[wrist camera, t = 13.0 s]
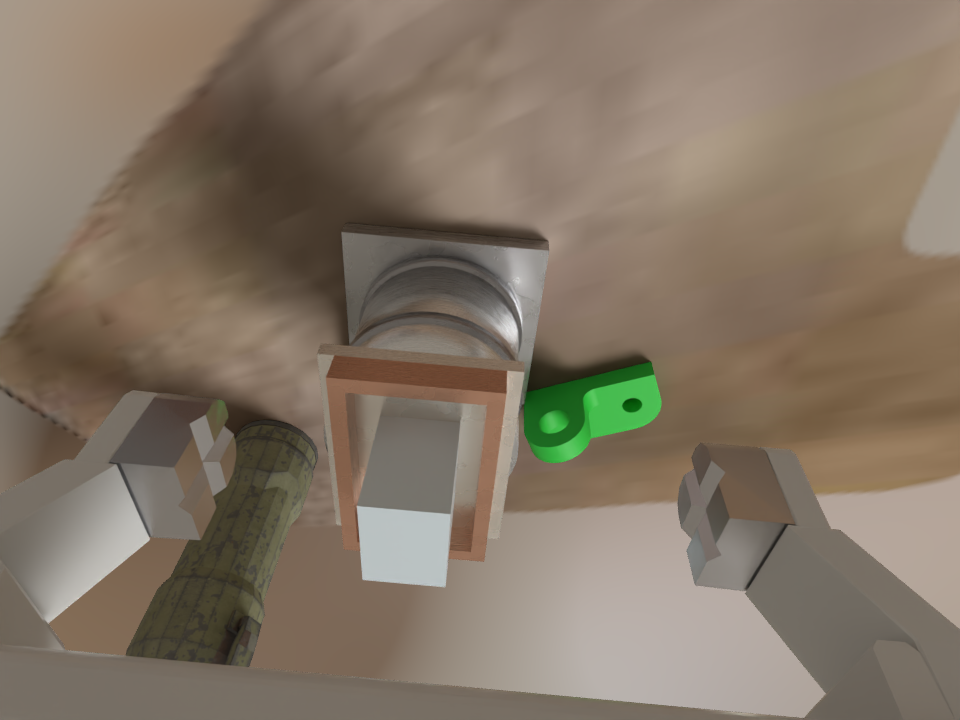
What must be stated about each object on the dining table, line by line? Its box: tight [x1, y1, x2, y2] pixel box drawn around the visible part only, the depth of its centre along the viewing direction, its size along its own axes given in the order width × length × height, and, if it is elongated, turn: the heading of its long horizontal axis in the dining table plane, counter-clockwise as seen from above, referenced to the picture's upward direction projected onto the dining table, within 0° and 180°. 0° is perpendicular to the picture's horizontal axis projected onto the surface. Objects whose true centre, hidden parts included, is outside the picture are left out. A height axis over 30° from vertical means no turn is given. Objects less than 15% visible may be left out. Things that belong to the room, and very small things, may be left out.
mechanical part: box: [524, 362, 661, 463], centre depth 56 cm, size 12×6×8 cm, turn 111°
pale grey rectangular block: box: [357, 416, 460, 587], centre depth 38 cm, size 5×9×7 cm, turn 176°
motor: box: [317, 223, 549, 562], centre depth 46 cm, size 16×16×19 cm
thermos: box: [126, 420, 318, 667], centre depth 52 cm, size 9×12×35 cm
